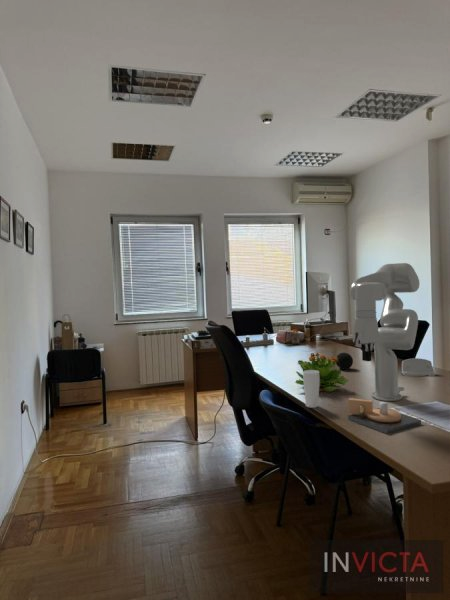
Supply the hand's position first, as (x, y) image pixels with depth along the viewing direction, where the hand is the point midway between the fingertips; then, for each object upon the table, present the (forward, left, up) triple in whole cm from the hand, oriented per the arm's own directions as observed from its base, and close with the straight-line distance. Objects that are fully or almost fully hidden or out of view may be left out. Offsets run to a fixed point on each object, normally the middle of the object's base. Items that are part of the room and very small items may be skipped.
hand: (366, 360), depth 159 cm
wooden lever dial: (+4, +7, -19) cm, 21 cm away
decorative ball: (-51, -65, -21) cm, 85 cm away
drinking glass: (+12, -19, -21) cm, 31 cm away
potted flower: (-8, -40, -21) cm, 46 cm away
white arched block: (-73, -32, -22) cm, 82 cm away
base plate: (+2, +10, -21) cm, 24 cm away
